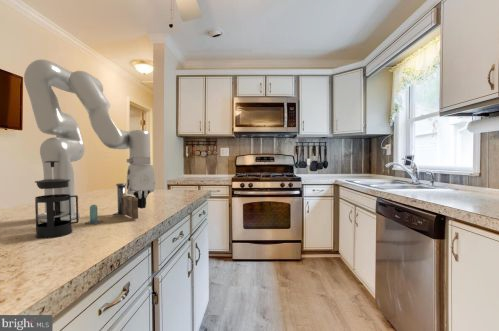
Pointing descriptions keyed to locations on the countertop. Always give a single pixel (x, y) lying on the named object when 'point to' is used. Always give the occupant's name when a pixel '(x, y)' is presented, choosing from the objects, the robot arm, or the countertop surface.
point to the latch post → (93, 215)
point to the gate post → (119, 192)
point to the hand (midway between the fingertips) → (141, 207)
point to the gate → (129, 206)
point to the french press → (54, 209)
